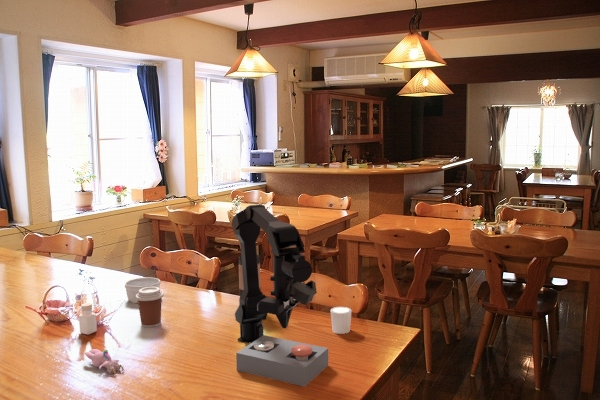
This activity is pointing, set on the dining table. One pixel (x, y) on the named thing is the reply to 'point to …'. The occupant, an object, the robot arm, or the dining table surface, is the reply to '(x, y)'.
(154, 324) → the coffee cup
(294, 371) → the console
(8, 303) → the dining table surface
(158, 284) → the ramekin
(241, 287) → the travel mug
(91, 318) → the pepper shaker
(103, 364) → the rabbit figure
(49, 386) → the dining table surface
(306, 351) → the red button
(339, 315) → the white cup
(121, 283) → the dining table surface
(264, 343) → the metal button
